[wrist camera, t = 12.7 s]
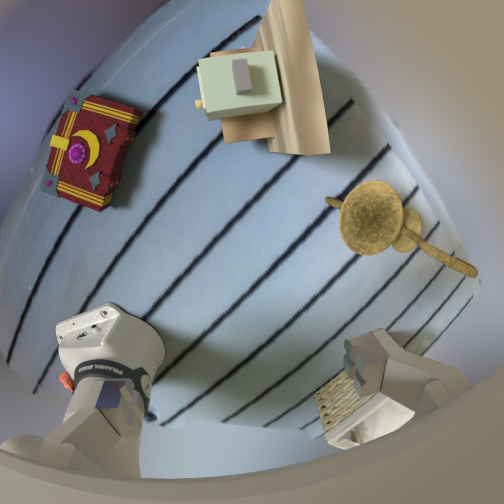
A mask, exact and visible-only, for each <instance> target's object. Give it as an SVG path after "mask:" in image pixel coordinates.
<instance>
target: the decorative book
mask: <svg viewBox="0 0 504 504" xmlns="http://www.w3.org/2000/svg"><path fill="white" fill-rule="evenodd" d="M142 112H143V111H140V110H138V109H136V108H133V107H130V106H127V105H123V104H120V103H116V102H113V101H109V100H106V99H102V98H99V97H95V96H93V95H91V94H88V93H84V92H80V91H76V90H71V89H70V92H69V94H68V97H67V100H66V102H65V105H64V108H63V110H62V113H61V115H62V117H61V120H60V123H59V126H58V129H57V132H56V134H53V136H52V140H51V143H50V145H51V146H52V148H51V152H50V155H49V159H48V163H47V165H46V166H45V170H44V174H43V178H42V182H41V187H40V190H41V191H43V192H46V193H48V194H51V195H54V196H56V197H62V198H65V199H68V200H69V201H70V202H72V203H75V204H76V203H78V204H80V205H83V206H86V207H88V208H91V209H93V210H96V211H98V212H101V211H103V210H104V209H106V208H107V207H109V205H110V202H111V198H112V195H113V192H114V189H116V188H117V186H118V183H119V180H120V177H121V174H119V173H120V170H121V167H122V164H123V161H124V158H125V156H126V153H127V150H128V147H129V145H132V143H133V140H134V138H135V135H136V133H137V132H136V131H135V129H136V127H137V124H138V122H139V119H140V117H141V115H142Z"/></svg>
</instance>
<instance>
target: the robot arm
mask: <svg viewBox="0 0 504 504" xmlns="http://www.w3.org/2000/svg"><path fill="white" fill-rule="evenodd" d="M104 311H106V312H107V313H105V312H104ZM56 335H57V339H58V342H59V344H60V345H59V356H60V359H61V362H62V364H63V366H64V368H65V369H66V371H67V372H64V373H63V374H61V376H60V377H59V379H60V381H61V382H62V383H63V384H64V386H65V387H66V388H70V389H71V391H72V394H73V396H72V399H71V401H70V404H69V406H68V409H67V411H66V414H65V416H64V419H63V424H62V425H61V426H59V427H58V428H57V429H56V430H55V431H54V432H53V433H52V434H50V435H49V436H48V437H47V438H42V437H40V436H38V435H34V434H24V435H18V436H15V437H12V438H10V439H8V440H7V441H5V442H4V443H3V444H2V445H1V446H0V504H504V366H502V367H501V368H500V369H499V370H497V371H496V372H495V373H493V374H492V375H491V376H489V377H488V378H486V379H485V380H483V381H482V382H481V383H479V384H478V385H476V386H475V387H473V386H471V384H470V383H469V382H468V381H467V380H466V378H465V377H464V376H463V375H462V374H461V373H460V372H459V371H458V369H457V368H455V367H451V366H449V365H446V364H443V363H440V362H437V361H434V360H431V359H428V358H425V357H422V356H419V355H416V354H414V353H411V352H408V351H405V352H403V351H402V350H401V349H400V348H399V347H398V345H397V344H396V343H395V342H394V341H393V339H392V338H391V337H390V336H389V335H388V334H387V332H386V331H385V330H384V329H383V328H379V329H376V330H373V331H370V332H367V333H364V334H361V335H358V336H355V337H351V338H348V339H346V340H345V343H344V348H345V349H346V351H347V352H346V354H345V355H344V367H345V371H346V373H347V375H348V377H349V379H352V380H354V385H353V387H354V388H355V390H356V392H357V394H358V396H359V397H360V398H363V397H366V396H369V395H372V394H374V393H377V392H380V393H382V394H384V395H385V396H387V397H389V398H391V399H392V400H394V401H396V402H398V403H399V404H401V405H403V406H405V407H406V408H408V409H410V410H412V411H414V412H415V414H414V416H413V419H412V421H411V423H410V424H408V425H406V426H404V427H402V428H399V429H397V430H395V431H393V432H390V433H388V434H386V435H383V436H381V437H378V438H376V439H373V440H371V441H368V442H366V443H363V444H360V445H357V446H355V447H352V448H349V449H346V450H343V451H340V452H337V453H334V454H330V455H327V456H324V457H320V458H316V459H313V460H309V461H305V462H301V463H297V464H293V465H289V466H284V467H279V468H274V469H268V470H263V471H257V472H251V473H245V474H237V475H228V476H218V477H206V478H182V479H156V478H141V475H140V467H139V446H140V438H141V431H142V425H143V418H144V417H145V416H146V414H147V411H148V406H149V401H150V396H151V387H152V381H153V378H154V376H155V373H156V371H157V370H158V368H159V366H160V365H161V364H162V362H163V360H164V357H165V347H164V344H163V341H162V339H161V338H160V336H159V335H158V333H157V332H156V331H155V330H154V329H153V328H152V327H151V326H150V325H148V324H147V323H145V322H144V321H142V320H140V319H138V318H136V317H133V316H131V315H128V314H126V313H125V312H123V311H122V310H121V309H120V308H119V307H117V306H116V305H114V304H112V303H107V304H104V305H102V306H99V307H97V308H94V309H91V310H89V311H86V312H84V313H81V314H79V315H76V316H74V317H71V318H69V319H66V320H64V321H61V322H59V323H58V324H57V326H56Z"/></svg>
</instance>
